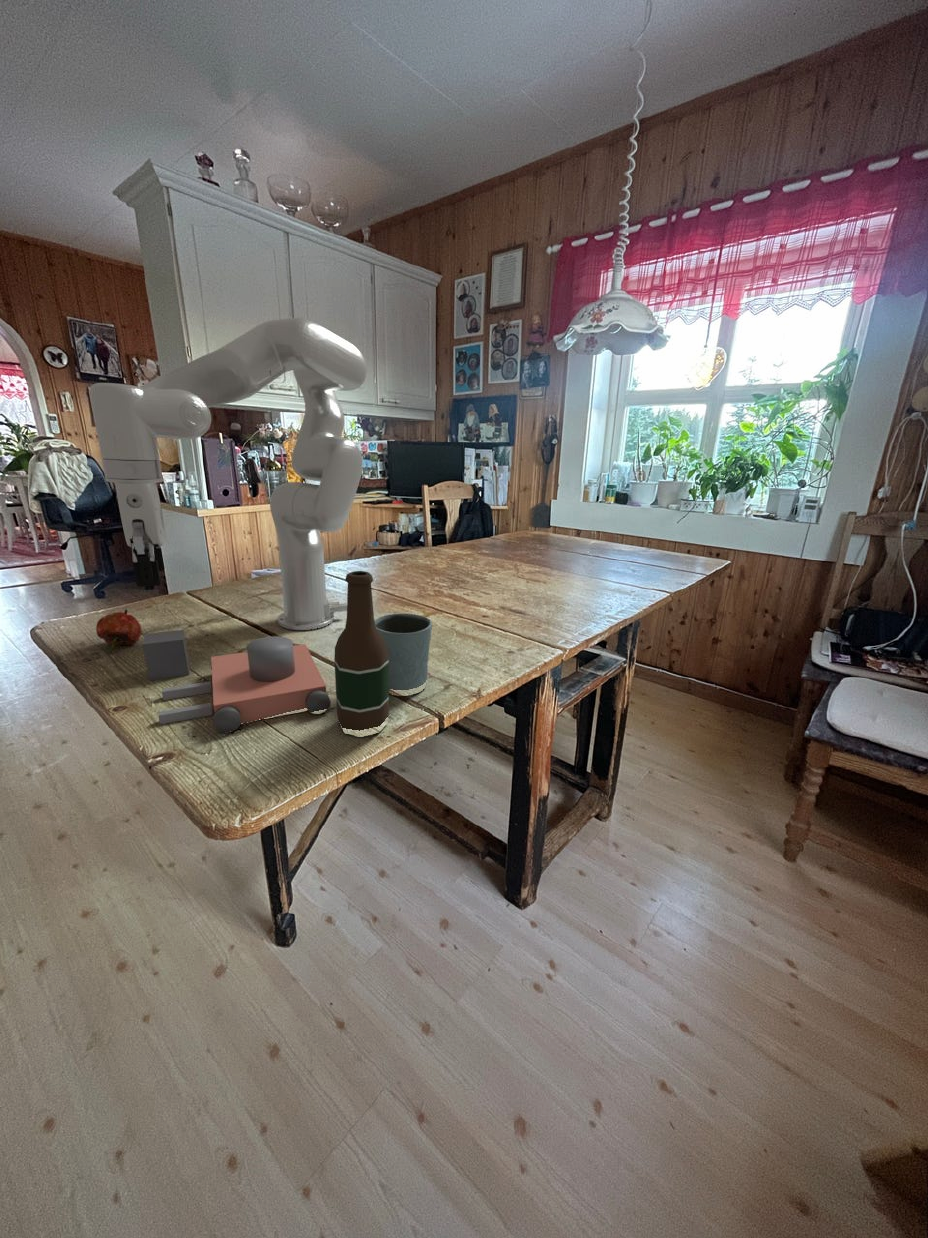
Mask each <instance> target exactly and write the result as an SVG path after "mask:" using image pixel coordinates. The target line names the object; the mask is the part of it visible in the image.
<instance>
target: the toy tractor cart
mask: <svg viewBox="0 0 928 1238" xmlns="http://www.w3.org/2000/svg"><path fill="white" fill-rule="evenodd" d="M293 642H294V641H293V640H292V639H291V638H288V637H285V636H277V635H276V636H266V637H260V638H257V639H254V640H252V641H250V642H249V643H248V644H247V645H246V652H244V651H243V652H238V653H228V654H226V653H220V654H216V655H215V656H211V657H210V658H211V661H210V669H211V677H212V678H211V679H212V681H210V680H209V681H204V682H198V683H197V682H196V683H190V684H183V685H178V686H172V687H164V688H162V689H161V695H162V699H163V701H167V700H173V699H178V698H179V699H180V698H185V697H190V696H198V695H205V694H209V693H212V699H213V700H212V701H213V703H212V702H208V703H203V704H196V705H191V706H184V707H178V708H173V709H167V710H161V711H158V715H157V716H158V721H159V725H165V724H169V723H170V724H171V723H176V722H181V721H186V720H187V721H188V720H193V719H197V718H202V717H208V716H212V720H213V721H212V722H213V727H214V729H215V730H216V731H217V732H219V733H222V734H226V733H225V732H230V731H233V730H235V731H236V730H237V729H238V728H239V727H240V724H241V723H247V722H251V721H255V720H259V719H264V718H267V717H272V716H275V715H279V714H283V713H286V712H291V711H295V710H300V709H304V708H307V709H308V711H309V713H310V712H314V711H319V710H324V709H328V708H329V709H330V707H331V705H332V702H331V698H330V697H329V695H328V693H327V685H326V683H325V682H324V679H323V677H322V675H321V673H320V671H319V668H318V667H317V664H316V663H315V661H314V659H313V657H312V654H311V653H310V651H309V649H308V647H307V643H304V644H299V643H293ZM211 682H212V683H211ZM212 704H213V706H212ZM329 709H328V710H329ZM213 710H214V711H213ZM213 712H214V713H213ZM247 724H248V723H247ZM233 732H234V731H233ZM230 733H231V732H230Z"/></svg>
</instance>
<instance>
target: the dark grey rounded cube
mask: <svg viewBox="0 0 928 1238" xmlns="http://www.w3.org/2000/svg"><path fill="white" fill-rule="evenodd" d="M141 645H142V649H143V655H144V659H145V660H144V661H145V664H146V670H147V675H148V680H149V682H152V681H154V682H155V681H160V680H168V679H174V678H180V677H186V676H190V659H189V653H188V648H187V640H186V635H185V629H179V630H178V629H177V630H170V631H167V630H166V631H158V632H150V633H144V637H143V640H142V644H141Z"/></svg>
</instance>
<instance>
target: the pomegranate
mask: <svg viewBox="0 0 928 1238" xmlns="http://www.w3.org/2000/svg"><path fill="white" fill-rule="evenodd" d="M95 628H96V629H95V630H96V635H97V637H98V638H100V639H103V640H104V641H105V643H107V644H108V645H110V646H111V647H110V649H109V652H108V655H111V653H112V651H113V649H114V648H115V646H123V645H125V646H132V645H135V644H136V643H137V642H139V640H140V638H141V636H142V631H143V630H142V626H141V624H140V623H139V621H138V620H137V619H136V617H135V616H133V614H128V609H124V612H121V611H120V612H117V611H116V612H112V613H109V614H106V615H105V616H104V615H103V616H101V617H100V618H99V619H98V621H97V623H96V627H95Z"/></svg>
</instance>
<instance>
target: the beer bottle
mask: <svg viewBox="0 0 928 1238" xmlns="http://www.w3.org/2000/svg"><path fill="white" fill-rule="evenodd" d="M345 582H347V595H346V597H347V599H346V601H347V602H346V604H347V611H346V621H345V627H344V629H343V630H342V631H341V633H340V634H339V636H338V638H337V641H336V644H335V646H334V657H333V658H334V674H335V675H334V678H335V697H336V699H335V701H336V714H337V715H336V716H337V721H338V720H339V722H340V724H341V726H342V728H346V729H352V730H359V731H360V730H364V729H369V728H373V727H378V726H380V725H381V724H382V723H383V722H384V721H385V719H386V718H387V717H388V716H389V717H390V695H389V659H388V649H387V646H386V643H385V641H384V638H383V637H382V636H381V634H380V633H379V632H378V630H377V629H376V625H375V620H376V619H375V615H374V603H373V602H374V601H373V590H372V583H373V582H374V579H373V575H372V574H371V572H368V571H364V570H356V571H355V570H354V571H351V572H348V573H347V574H346V575H345Z"/></svg>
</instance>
